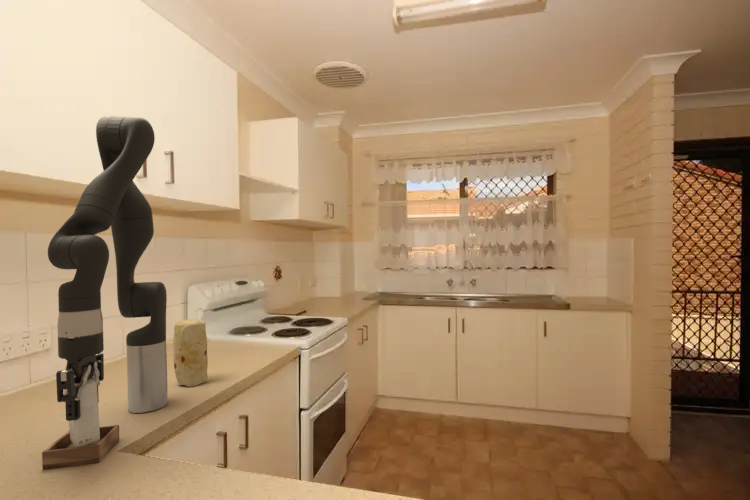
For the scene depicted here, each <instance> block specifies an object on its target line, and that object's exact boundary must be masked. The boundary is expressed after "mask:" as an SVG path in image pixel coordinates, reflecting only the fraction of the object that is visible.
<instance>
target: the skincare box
mask: <svg viewBox="0 0 750 500" xmlns="http://www.w3.org/2000/svg"><path fill="white" fill-rule="evenodd" d="M77 384H79V383H77ZM75 392H76V389H75ZM98 397H99V394H98V395H97V383H96V382H95V381H94V380H92V379H88V380H87V382H86V386H85V388H84V389H82V391H81V395H80V399H79V400H80V418H79V419H77V420H72V421H68V424H69V425H68V426H69V428H68V429H69V430H70V440H71V441H72V442H73V444H74V445H75V447H82V446H85V445H89V444H92V443H95V442H98V441H99V440H100V429H99V427H100V414H99V402H98Z"/></svg>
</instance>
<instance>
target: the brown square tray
mask: <svg viewBox="0 0 750 500" xmlns="http://www.w3.org/2000/svg"><path fill="white" fill-rule="evenodd" d="M99 429H100V440H99V441H98V442H95V443H92V444H89V445H85V446H82V447H75V445H74V444H73V442H72V441H71V440H70V429H69V430H68V431H66V432H65V433H64V434H63V435H62V436H60V437H59V438H58V439H57V440H56V441H54V442H53V443H51V444H50V445H49V446H48V447H47V448H46V449H44V450H43V451H42V452H41V458H42V459H41V461H42V462H41V463H42V470H50V469H59V468H66V467H67V468H68V467H74V466H82V465H90V464H92V465H93V464H99V463H100V462H101V461H102V459H104V458H105V456H107V455H108V453H109V452H110V451H111V450H112V449H113V447H114V446H115V445H117V443H118V442H119V441H120V425H119V424H116V425H115V424H114V425H106V426H105V425H104V426H99Z"/></svg>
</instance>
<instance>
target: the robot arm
mask: <svg viewBox="0 0 750 500" xmlns="http://www.w3.org/2000/svg"><path fill="white" fill-rule="evenodd" d="M95 126H96V127H95V135H96V143H97V149H98V154H99V157H100V160H101V164H102V165H101V166H102V169H103V171H102V172H101V173H100V174H97V176H95V178H93V179H92V180H91V181H90V182H89V183H88V185H87V186H86V187H85V188H84V189H83V192H82V194H81V196H80V199H79V200H78V203H77V205H76V207H75V209H74V212H73V214H71V216H70V217H69V218H68V219H66V221H65V222H64V224H62V226H61V227H60V228H59V229H58V230H57V231H56V233H54V235H53V237H52V238H51V240H50V242H49V243H48V247H47V258H48V260H49V263H50V264H51V265H52V266H54V267H55V268H57V269H60V270H76V271H75V274H74V277H73V279H72V280H70V281H66V282H64V283H62V284H60V286H59V288H58V294H57V297H58V298H57V299H58V300H57V302H58V318H57V348H58V349H57V355H58V358H59V359H61V360H66V365H65V369H64V370H63V369H62V370H57V371H56V374H55V377H56V378H55V381H56V400H57V403H65V419H66V421H68V422H69V421H72V420H77V419H79V418H80V400H79V399H80V395H81V391H82V389H84V388H85V386H86V382H87V380H88V379H92V380H94V381H95V382H96V383H97V395H98V403H99V387H100V385H101V382H102V381H103V380H104V378H105V377H104V376H105V375H104V374H105V371H104V370H105V369H104V367H105V366H104V365H105V363H104V360H105V359H104V357H105V356H104V353H103V352H104V318H103V312H102V301H101V300H102V298H101V296H102V294H101V289H102V285H103V282H104V279H105V276H106V272H107V271H106V270H107V268H108V265H109V261H110V249H109V247H108V244H107V243H106V241H105V240H104V238H102V237H100V236H98V234H101V233H102V232H105V231H107V230H109V229H110V228H111V235H112V241H113V248H114V254H115V255H114V256H115V267H116V289H117V290H116V293H117V294H116V295H117V296H116V297H117V306H118V310H119V313H120V315H121V316H122V317H124V318H126V319H130V318H133V319H134V318H149V317H150V319H149V322H148V324H146V325H144V326H142V327H140V328H137V329H134V330H132V331H130V332H129V333H127V334H126V336H125V337H126V339H125V340H126V341H125V344H126V374H127V409H128V410H127V411H128V412H129V413H132V414H133V413H134V414H141V413H143V414H144V413H149V412H153V411H157V410H160V409H161V408H163V407H166V406H167V405H168V402H169V397H168V396H169V394H168V393H169V391H168V363H167V362H168V361H167V359H168V358H167V357H168V355H167V298H168V297H167V289H166V286H165V284H164V282H161V281H150V282H149V281H145V282H135V271H136V268H137V265H138V263H139V262H140V261H139V260H140V259H141V257H142V255H143V254H144V253H145V251H146V249H147V248H148V246H149V245H150V243H151V242H152V239H153V238H154V232H155V228H154V219H153V211H152V207H151V205H150V203H149V202H148V200H147V198H146V197H145V195H144V194H143V193H142V191H141V190H140V189H139V188H138V186H137V185H136V183H135V182H134V181H133V180H134V179H135V178H136V176H137V174H138V173H139V172H140V170H141V169H142V167H143V165H144V163H145V162H146V161H147V159H148V158H149V156H150V155H151V152H152V150H153V149H154V145H155V139H156V138H155V132H154V128H153V126H152V124H151V123H150V122H149V120H148V119H145V117H140V116H133V115H103V116H101V117H99V118H98V119H97V122H96V125H95ZM77 383H79V384H77ZM75 389H76V392H75Z"/></svg>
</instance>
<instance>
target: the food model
mask: <svg viewBox="0 0 750 500" xmlns="http://www.w3.org/2000/svg"><path fill="white" fill-rule="evenodd" d="M206 329H207V327H206V321H203V320H201V319H199V320H198V319H182V320H180V321H178V322H176V323H174V327H173V348H172V349H173V351H172V354H173V368H174V374H175V378H176V382H177V383H178V385H180V386H186V387H188V388H189V387H190V388H192V387H195V386H198V385H200V384H202V383H205V382H207V380H208V378H209V377H208V376H209V375H208V367H209V365H208V364H209V362H208V358H209V357H208V339H207V338H208V337H207V330H206Z"/></svg>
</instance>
